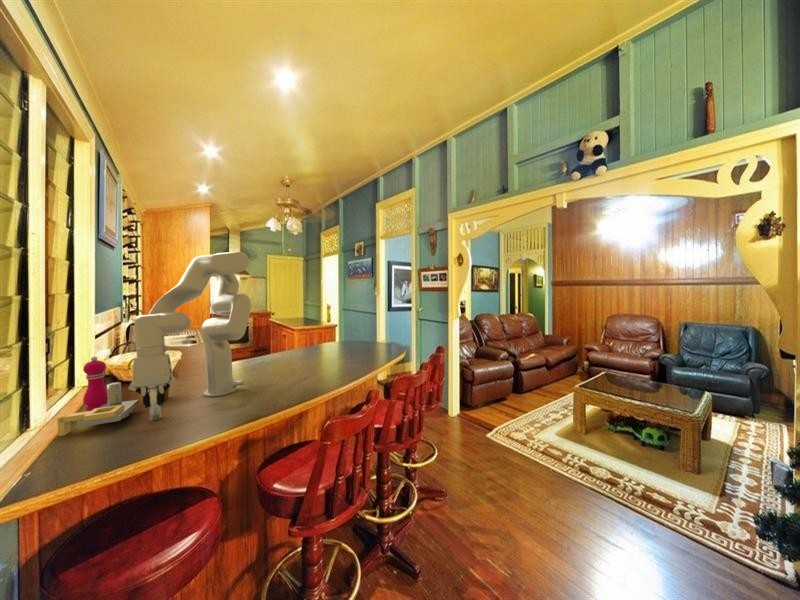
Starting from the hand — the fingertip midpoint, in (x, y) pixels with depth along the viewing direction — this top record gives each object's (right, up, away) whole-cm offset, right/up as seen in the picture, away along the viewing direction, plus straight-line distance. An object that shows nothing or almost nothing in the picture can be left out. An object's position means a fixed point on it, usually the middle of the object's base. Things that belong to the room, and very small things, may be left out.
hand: (154, 404), depth 106 cm
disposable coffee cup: (-14, -5, +20) cm, 25 cm away
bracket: (-15, -6, -7) cm, 17 cm away
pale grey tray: (-14, -5, -1) cm, 15 cm away
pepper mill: (-30, -6, +11) cm, 32 cm away
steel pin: (0, -5, 0) cm, 5 cm away
